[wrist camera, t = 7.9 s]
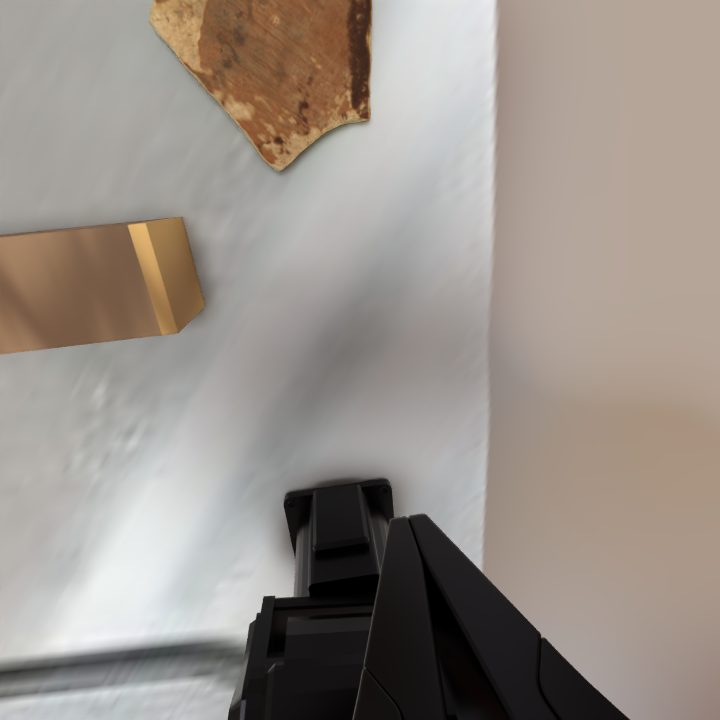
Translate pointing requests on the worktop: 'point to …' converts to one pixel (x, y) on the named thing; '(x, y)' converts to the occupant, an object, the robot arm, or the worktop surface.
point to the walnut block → (96, 284)
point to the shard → (276, 64)
